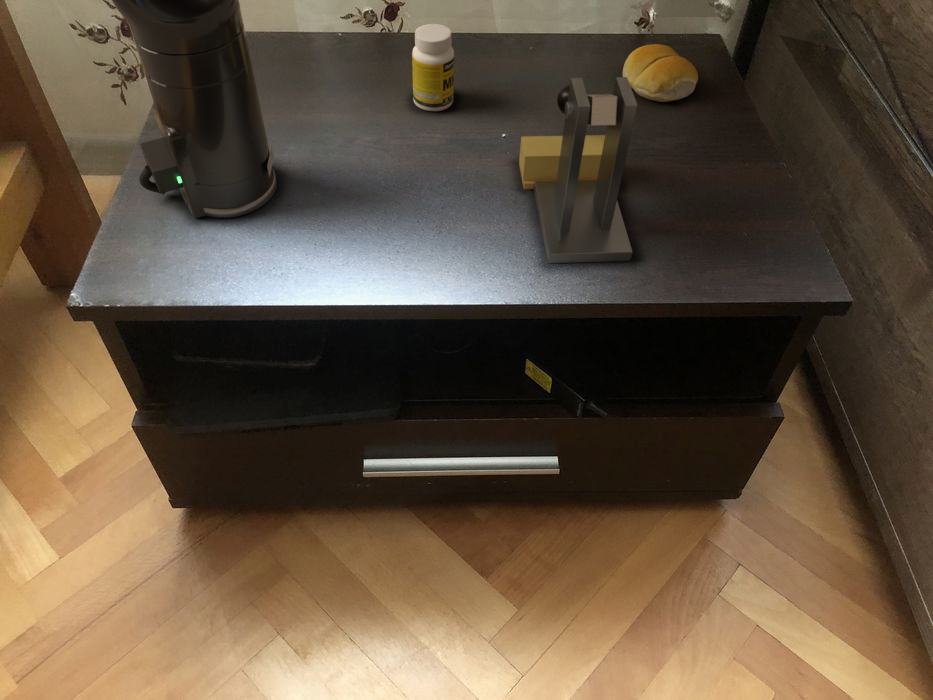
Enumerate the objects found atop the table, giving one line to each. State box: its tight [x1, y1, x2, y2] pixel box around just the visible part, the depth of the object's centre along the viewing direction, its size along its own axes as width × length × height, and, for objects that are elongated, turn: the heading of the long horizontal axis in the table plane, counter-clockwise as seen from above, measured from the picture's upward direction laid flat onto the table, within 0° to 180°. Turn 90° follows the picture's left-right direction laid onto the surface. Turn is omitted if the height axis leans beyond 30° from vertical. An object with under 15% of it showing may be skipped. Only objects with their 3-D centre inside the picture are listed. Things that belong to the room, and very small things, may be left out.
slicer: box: [533, 76, 638, 264], centre depth 72 cm, size 11×8×15 cm
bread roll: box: [622, 43, 699, 103], centre depth 93 cm, size 8×9×4 cm
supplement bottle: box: [411, 23, 455, 112], centre depth 88 cm, size 5×5×8 cm
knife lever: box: [556, 83, 617, 127], centre depth 73 cm, size 15×3×3 cm, turn 4°
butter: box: [518, 134, 605, 190], centre depth 81 cm, size 4×10×4 cm, turn 94°
